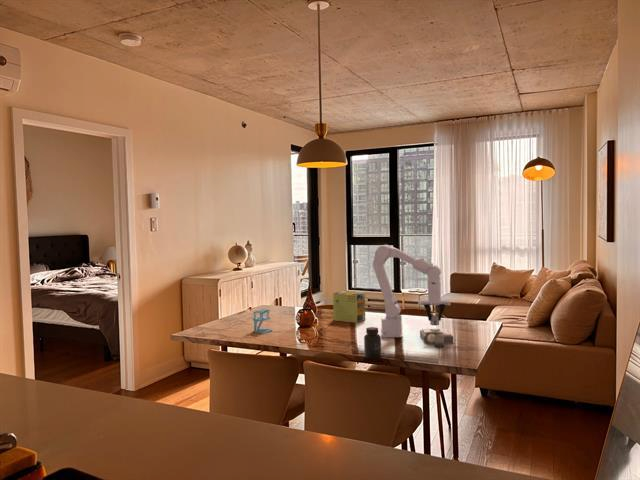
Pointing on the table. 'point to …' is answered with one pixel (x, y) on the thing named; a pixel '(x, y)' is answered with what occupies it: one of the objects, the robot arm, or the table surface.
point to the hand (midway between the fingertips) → (434, 320)
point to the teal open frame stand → (261, 321)
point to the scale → (429, 335)
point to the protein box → (349, 306)
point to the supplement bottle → (372, 343)
